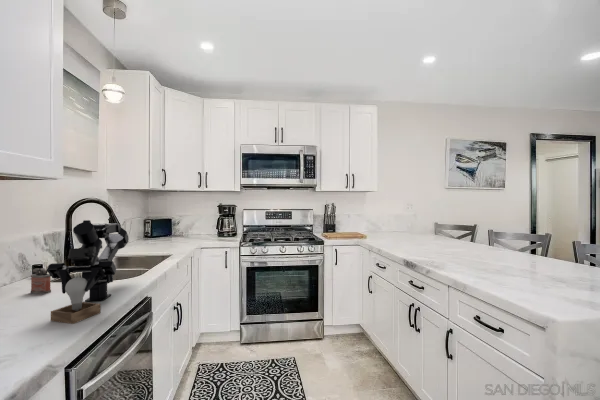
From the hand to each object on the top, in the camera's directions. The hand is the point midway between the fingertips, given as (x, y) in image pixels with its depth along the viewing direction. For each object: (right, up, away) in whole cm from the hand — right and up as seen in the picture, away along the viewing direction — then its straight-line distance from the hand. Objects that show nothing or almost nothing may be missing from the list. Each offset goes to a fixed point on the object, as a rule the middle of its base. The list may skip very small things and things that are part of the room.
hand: (74, 292), depth 93 cm
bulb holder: (0, -8, +1) cm, 8 cm away
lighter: (-35, -9, +27) cm, 45 cm away
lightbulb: (0, -7, +1) cm, 7 cm away
